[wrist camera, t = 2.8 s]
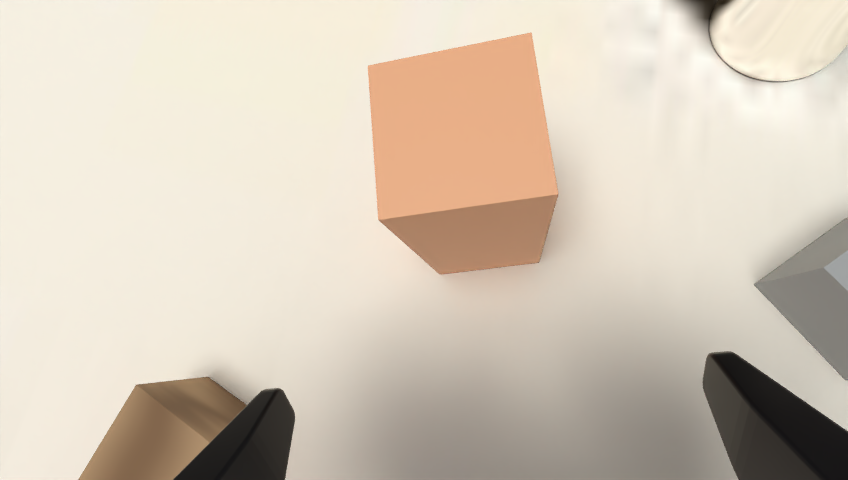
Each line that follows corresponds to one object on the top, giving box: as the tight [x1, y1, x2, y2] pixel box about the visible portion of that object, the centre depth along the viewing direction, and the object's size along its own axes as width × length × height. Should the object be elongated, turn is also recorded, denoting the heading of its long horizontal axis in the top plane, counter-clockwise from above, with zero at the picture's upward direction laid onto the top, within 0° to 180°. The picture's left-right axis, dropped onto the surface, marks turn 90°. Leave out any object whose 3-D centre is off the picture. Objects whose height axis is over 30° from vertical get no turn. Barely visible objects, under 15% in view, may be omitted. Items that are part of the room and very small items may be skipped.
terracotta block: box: [368, 33, 558, 274], centre depth 19 cm, size 5×5×11 cm
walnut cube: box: [78, 377, 247, 480], centre depth 22 cm, size 5×5×5 cm
